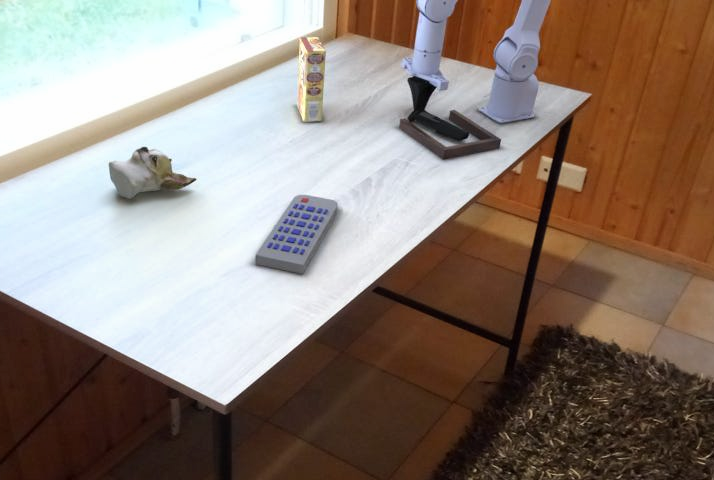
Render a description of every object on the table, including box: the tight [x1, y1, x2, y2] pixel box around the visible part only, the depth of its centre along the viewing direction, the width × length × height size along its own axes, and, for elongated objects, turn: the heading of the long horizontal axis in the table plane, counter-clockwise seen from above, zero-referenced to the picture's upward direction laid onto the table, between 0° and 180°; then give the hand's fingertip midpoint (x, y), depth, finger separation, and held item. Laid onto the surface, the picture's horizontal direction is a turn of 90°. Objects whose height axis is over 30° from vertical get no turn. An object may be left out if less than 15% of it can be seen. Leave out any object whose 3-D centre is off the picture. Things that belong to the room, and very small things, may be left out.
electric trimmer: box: [407, 108, 470, 142], centre depth 171 cm, size 4×16×3 cm, turn 35°
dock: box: [398, 109, 502, 160], centre depth 169 cm, size 14×16×2 cm
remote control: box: [254, 194, 339, 275], centre depth 137 cm, size 8×23×2 cm, turn 160°
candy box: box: [297, 36, 327, 123], centre depth 173 cm, size 9×4×15 cm, turn 8°
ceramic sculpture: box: [108, 146, 197, 200], centre depth 146 cm, size 11×9×15 cm
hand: (418, 111), depth 177 cm, fingers closed
